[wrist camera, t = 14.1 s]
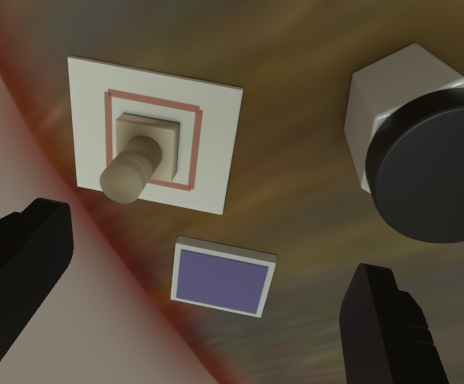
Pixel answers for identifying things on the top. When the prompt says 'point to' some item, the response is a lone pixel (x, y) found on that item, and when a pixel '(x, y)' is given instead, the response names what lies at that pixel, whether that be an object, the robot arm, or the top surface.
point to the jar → (410, 142)
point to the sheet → (162, 107)
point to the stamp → (140, 156)
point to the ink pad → (221, 276)
